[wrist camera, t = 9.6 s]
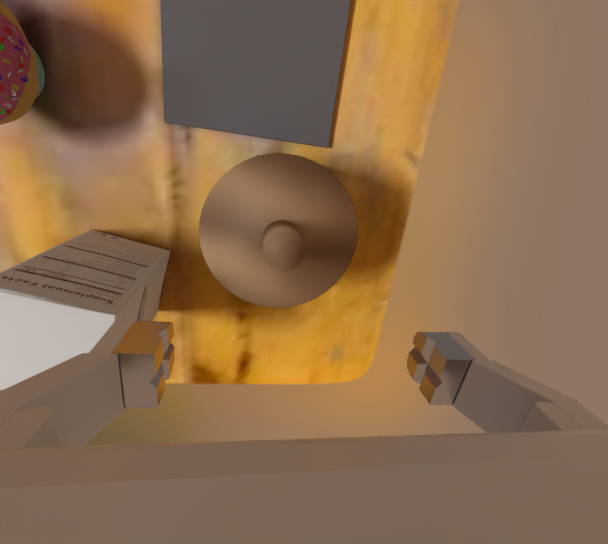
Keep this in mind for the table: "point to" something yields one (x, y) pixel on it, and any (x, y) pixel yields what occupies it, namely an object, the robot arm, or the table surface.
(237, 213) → the lid
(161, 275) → the supplement box
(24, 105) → the cupcake
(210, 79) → the mat
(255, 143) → the table surface
